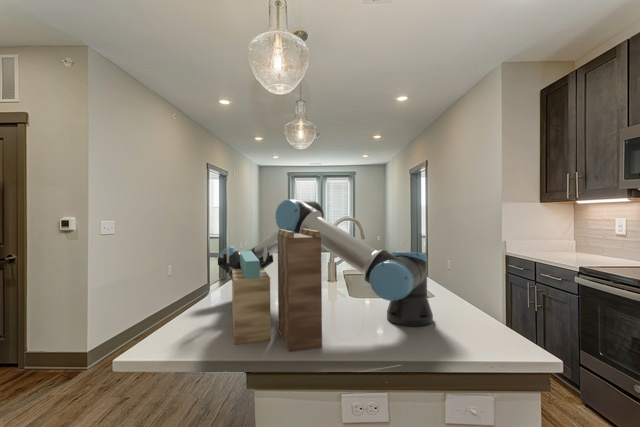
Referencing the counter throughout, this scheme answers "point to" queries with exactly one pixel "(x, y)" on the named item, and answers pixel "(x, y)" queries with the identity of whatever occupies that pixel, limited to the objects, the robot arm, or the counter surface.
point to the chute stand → (300, 289)
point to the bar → (249, 265)
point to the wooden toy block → (251, 307)
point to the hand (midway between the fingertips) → (247, 251)
